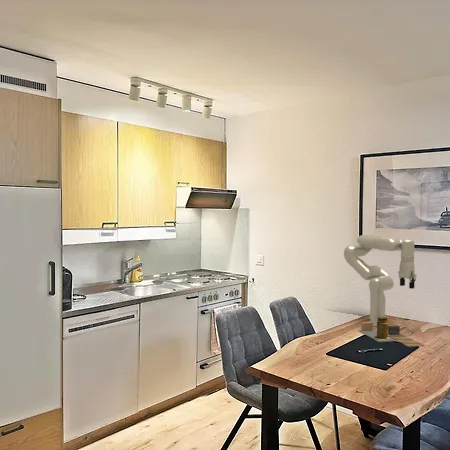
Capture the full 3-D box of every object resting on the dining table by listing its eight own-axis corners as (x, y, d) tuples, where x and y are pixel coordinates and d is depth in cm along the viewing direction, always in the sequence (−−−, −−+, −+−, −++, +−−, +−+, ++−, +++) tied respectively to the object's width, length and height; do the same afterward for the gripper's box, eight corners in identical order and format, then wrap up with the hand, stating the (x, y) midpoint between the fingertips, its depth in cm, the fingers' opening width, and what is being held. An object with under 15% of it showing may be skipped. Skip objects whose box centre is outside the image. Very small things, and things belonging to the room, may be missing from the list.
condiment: (390, 337, 262) (390, 317, 262) (383, 340, 256) (383, 320, 256) (378, 335, 267) (379, 315, 267) (371, 338, 261) (372, 317, 261)
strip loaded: (358, 330, 278) (358, 322, 278) (373, 330, 280) (373, 321, 280) (378, 342, 255) (379, 332, 255) (394, 341, 257) (394, 331, 257)
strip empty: (384, 334, 270) (385, 325, 270) (399, 334, 272) (399, 325, 271) (408, 347, 246) (408, 337, 246) (424, 345, 248) (424, 336, 248)
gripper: (394, 258, 282) (393, 284, 283) (410, 261, 265) (409, 289, 266) (404, 257, 283) (404, 284, 284) (421, 261, 266) (421, 289, 267)
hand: (407, 287), depth 275 cm, fingers open, 9 cm apart
